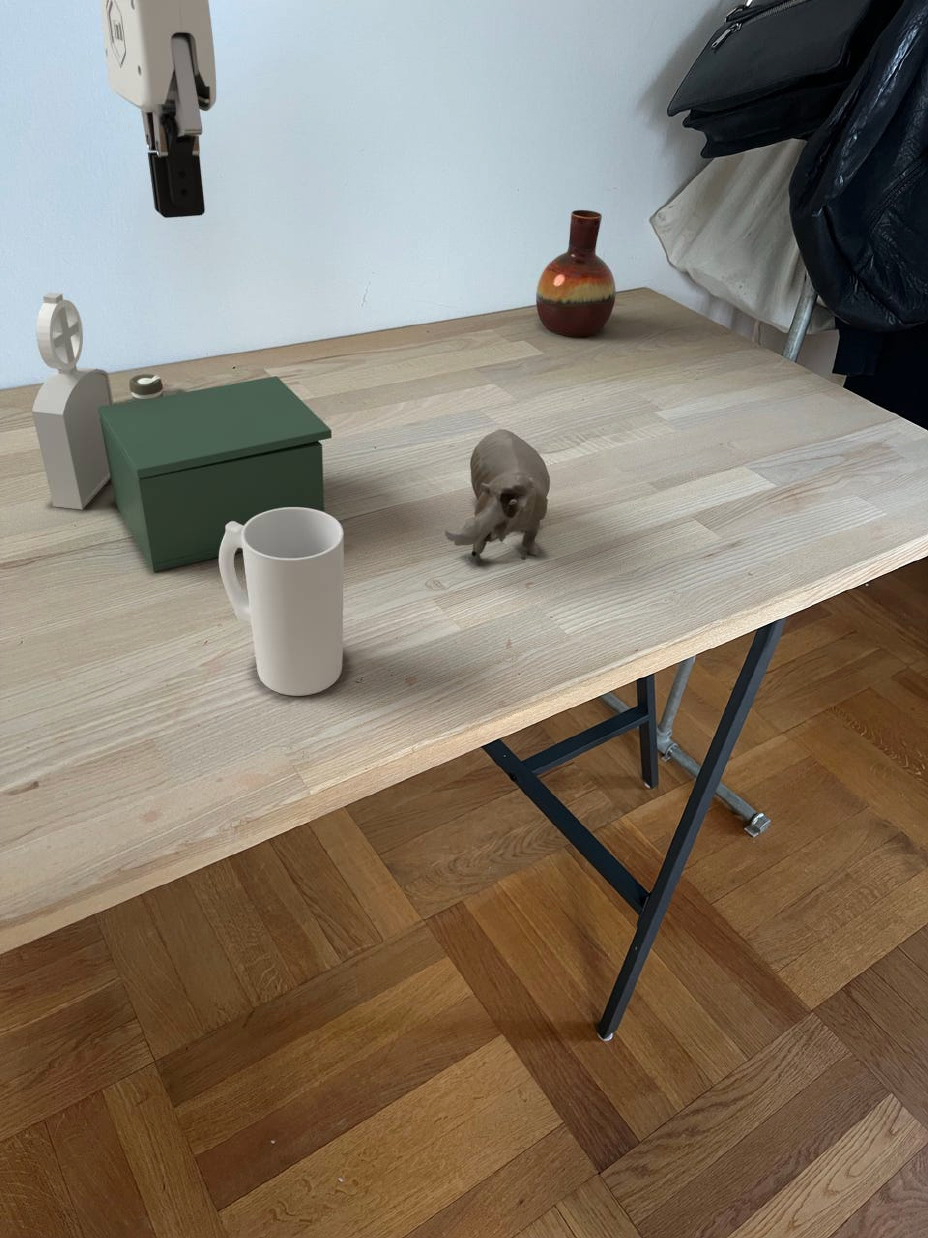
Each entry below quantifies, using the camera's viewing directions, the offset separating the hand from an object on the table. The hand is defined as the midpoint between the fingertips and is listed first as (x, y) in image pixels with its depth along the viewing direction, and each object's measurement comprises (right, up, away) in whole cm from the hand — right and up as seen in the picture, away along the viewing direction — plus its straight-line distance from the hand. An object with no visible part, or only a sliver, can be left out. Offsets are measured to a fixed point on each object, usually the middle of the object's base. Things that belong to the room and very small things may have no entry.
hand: (180, 213), depth 68 cm
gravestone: (-15, -17, +22) cm, 31 cm away
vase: (+36, +12, +65) cm, 76 cm away
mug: (+7, -33, +2) cm, 34 cm away
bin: (-2, -20, +18) cm, 27 cm away
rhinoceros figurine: (+24, -23, +17) cm, 37 cm away
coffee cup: (-13, -8, +33) cm, 36 cm away
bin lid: (-1, -13, +13) cm, 18 cm away
